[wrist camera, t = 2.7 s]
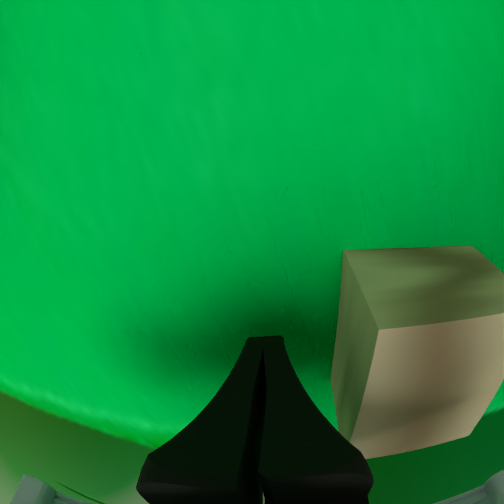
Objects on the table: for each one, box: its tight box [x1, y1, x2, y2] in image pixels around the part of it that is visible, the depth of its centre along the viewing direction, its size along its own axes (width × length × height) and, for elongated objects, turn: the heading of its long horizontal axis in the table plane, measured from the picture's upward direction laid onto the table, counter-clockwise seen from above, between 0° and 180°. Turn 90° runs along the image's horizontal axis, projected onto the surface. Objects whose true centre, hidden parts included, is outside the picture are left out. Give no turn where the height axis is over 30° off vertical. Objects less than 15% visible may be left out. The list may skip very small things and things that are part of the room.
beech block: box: [331, 246, 504, 459], centre depth 11 cm, size 6×7×5 cm
